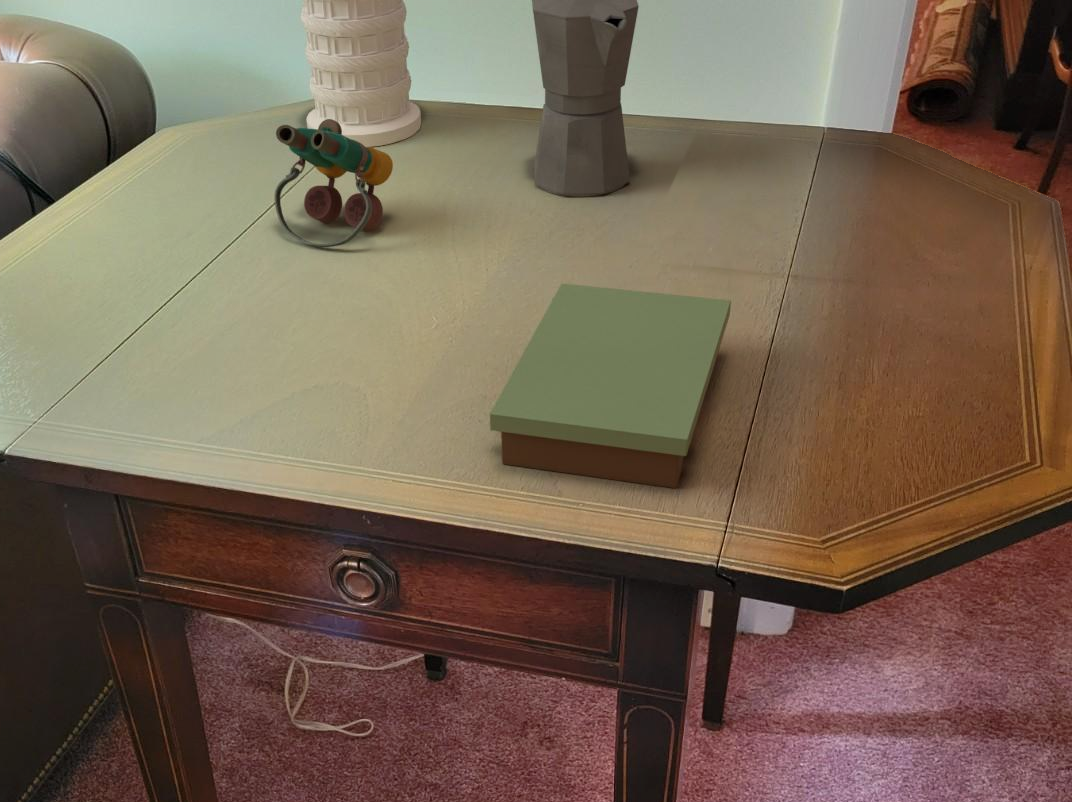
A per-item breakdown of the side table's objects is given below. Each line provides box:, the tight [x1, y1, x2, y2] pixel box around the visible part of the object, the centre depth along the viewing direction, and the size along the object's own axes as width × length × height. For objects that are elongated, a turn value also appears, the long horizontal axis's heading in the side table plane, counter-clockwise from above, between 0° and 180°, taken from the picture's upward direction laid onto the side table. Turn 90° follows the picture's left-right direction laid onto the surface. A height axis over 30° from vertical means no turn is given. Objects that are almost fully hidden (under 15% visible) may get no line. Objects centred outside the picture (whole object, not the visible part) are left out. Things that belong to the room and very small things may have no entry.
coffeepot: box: [531, 0, 639, 198], centre depth 106 cm, size 15×9×18 cm, turn 22°
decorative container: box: [300, 0, 422, 148], centre depth 118 cm, size 12×12×18 cm
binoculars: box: [273, 119, 394, 248], centre depth 101 cm, size 9×9×10 cm
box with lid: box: [489, 283, 732, 489], centre depth 80 cm, size 12×18×4 cm, turn 163°
